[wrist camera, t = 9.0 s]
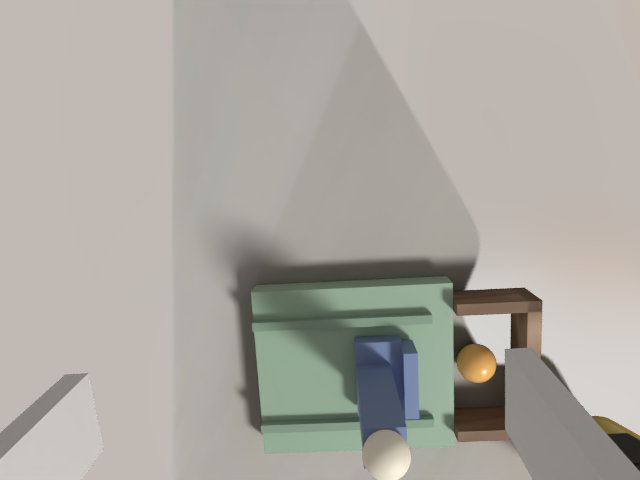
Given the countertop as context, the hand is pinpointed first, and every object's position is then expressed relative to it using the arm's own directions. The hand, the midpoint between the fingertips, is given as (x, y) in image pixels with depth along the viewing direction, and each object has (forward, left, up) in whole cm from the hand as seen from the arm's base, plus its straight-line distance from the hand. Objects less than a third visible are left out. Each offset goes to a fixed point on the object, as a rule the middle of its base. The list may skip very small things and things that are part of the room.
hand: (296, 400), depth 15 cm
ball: (+13, +14, -29) cm, 34 cm away
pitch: (+13, +2, -31) cm, 33 cm away
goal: (+13, +15, -31) cm, 36 cm away
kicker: (+13, +5, -28) cm, 31 cm away
